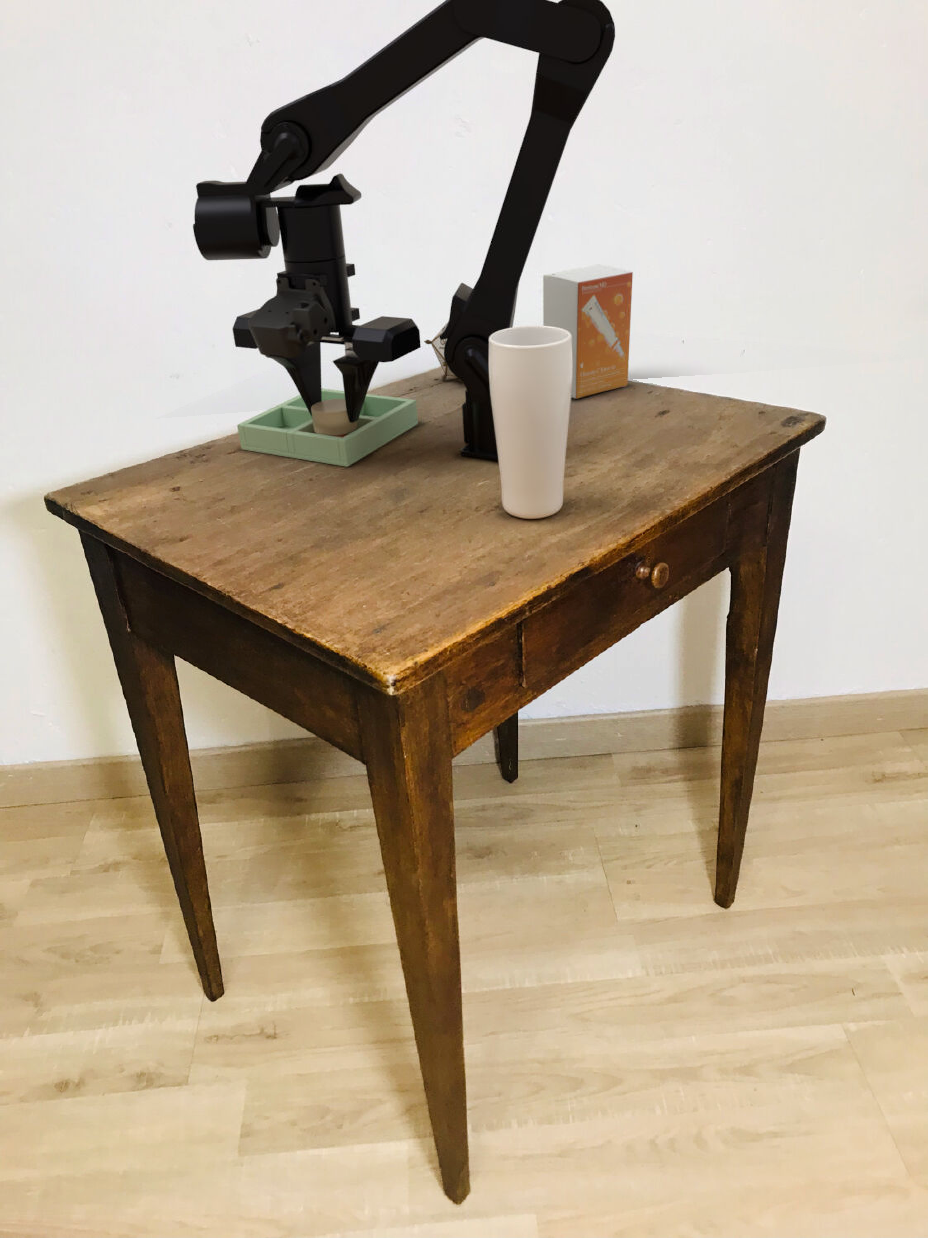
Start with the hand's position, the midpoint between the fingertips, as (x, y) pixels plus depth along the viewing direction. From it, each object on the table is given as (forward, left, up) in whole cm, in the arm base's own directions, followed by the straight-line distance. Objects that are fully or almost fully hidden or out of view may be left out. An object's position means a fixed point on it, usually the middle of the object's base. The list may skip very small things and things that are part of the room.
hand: (334, 418), depth 97 cm
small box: (-16, -28, -4) cm, 33 cm away
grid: (+3, -3, -3) cm, 6 cm away
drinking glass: (-25, +6, -4) cm, 26 cm away
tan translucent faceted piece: (-1, -26, -4) cm, 26 cm away
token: (0, 0, -1) cm, 1 cm away
